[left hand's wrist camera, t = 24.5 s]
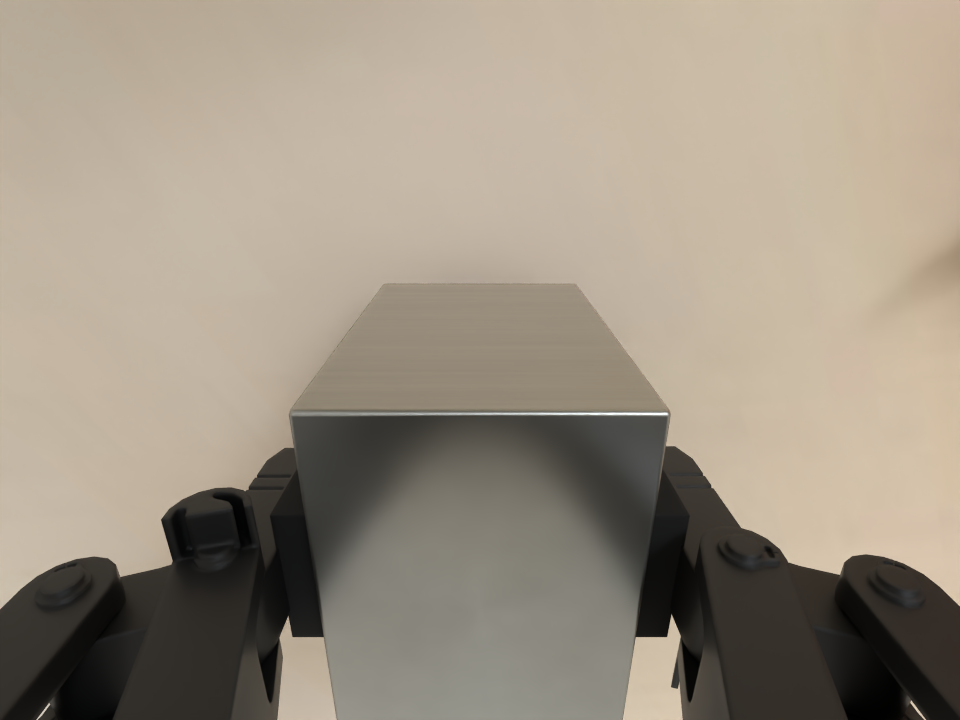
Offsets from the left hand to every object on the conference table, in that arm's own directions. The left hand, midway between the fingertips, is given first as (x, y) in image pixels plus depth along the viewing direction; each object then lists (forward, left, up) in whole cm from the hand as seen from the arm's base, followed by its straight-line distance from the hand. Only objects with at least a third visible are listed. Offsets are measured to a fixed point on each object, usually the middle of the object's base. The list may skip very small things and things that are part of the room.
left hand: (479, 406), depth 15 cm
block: (0, 0, -1) cm, 1 cm away
